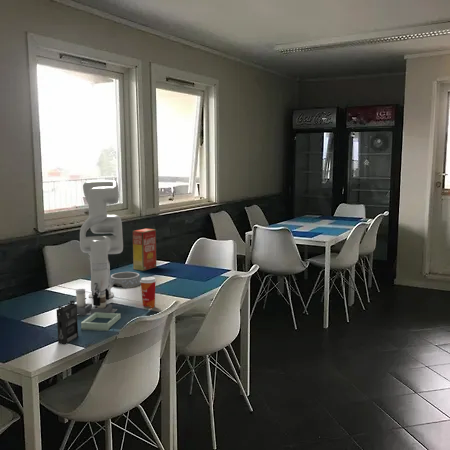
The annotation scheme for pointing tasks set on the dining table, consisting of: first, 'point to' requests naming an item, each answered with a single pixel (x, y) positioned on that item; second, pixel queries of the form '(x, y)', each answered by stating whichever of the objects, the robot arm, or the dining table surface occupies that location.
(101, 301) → the fuse
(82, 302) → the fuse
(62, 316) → the geiger counter
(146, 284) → the paper cup
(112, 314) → the parts tray
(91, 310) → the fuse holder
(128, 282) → the dog bowl
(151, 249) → the food packaging
